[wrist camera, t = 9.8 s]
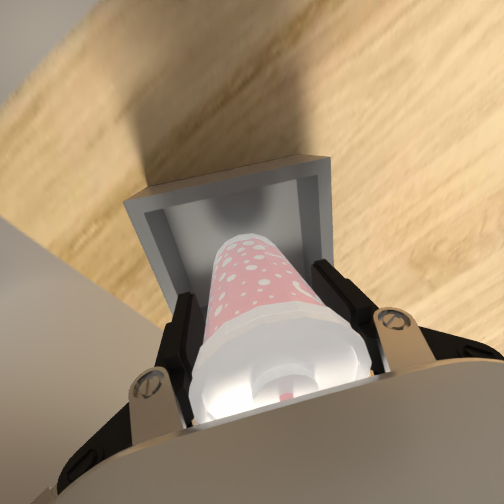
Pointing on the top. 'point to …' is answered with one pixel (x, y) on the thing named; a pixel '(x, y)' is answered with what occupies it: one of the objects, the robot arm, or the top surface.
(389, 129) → the top surface
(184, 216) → the crate
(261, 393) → the beverage cup
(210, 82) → the top surface
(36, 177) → the top surface
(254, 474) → the robot arm
